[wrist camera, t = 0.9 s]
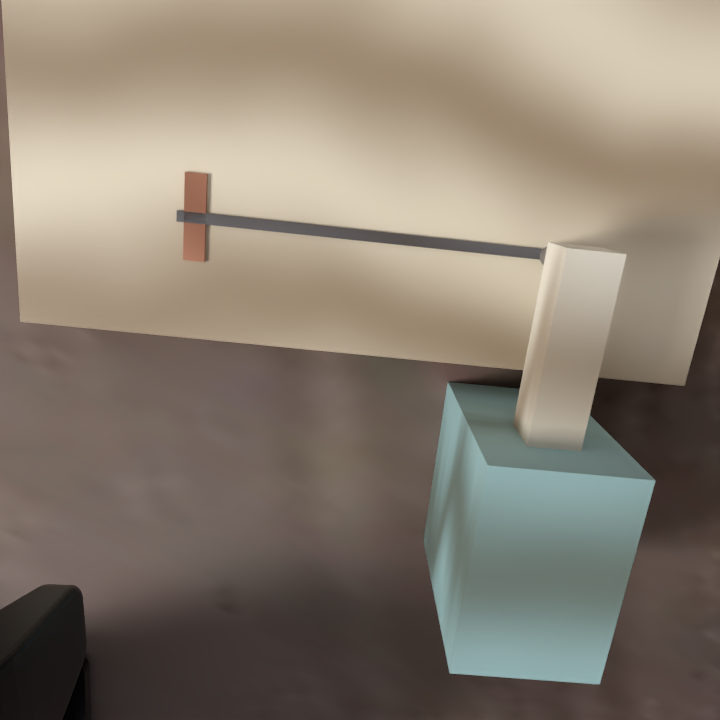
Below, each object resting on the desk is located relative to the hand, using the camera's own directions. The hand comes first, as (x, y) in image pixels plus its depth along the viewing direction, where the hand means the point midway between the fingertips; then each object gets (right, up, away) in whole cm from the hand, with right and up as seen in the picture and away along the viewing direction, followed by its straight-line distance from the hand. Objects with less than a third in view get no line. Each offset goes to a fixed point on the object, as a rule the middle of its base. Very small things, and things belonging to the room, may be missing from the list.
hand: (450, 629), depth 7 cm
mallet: (+4, +2, +13) cm, 13 cm away
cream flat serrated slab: (0, +11, +10) cm, 14 cm away
